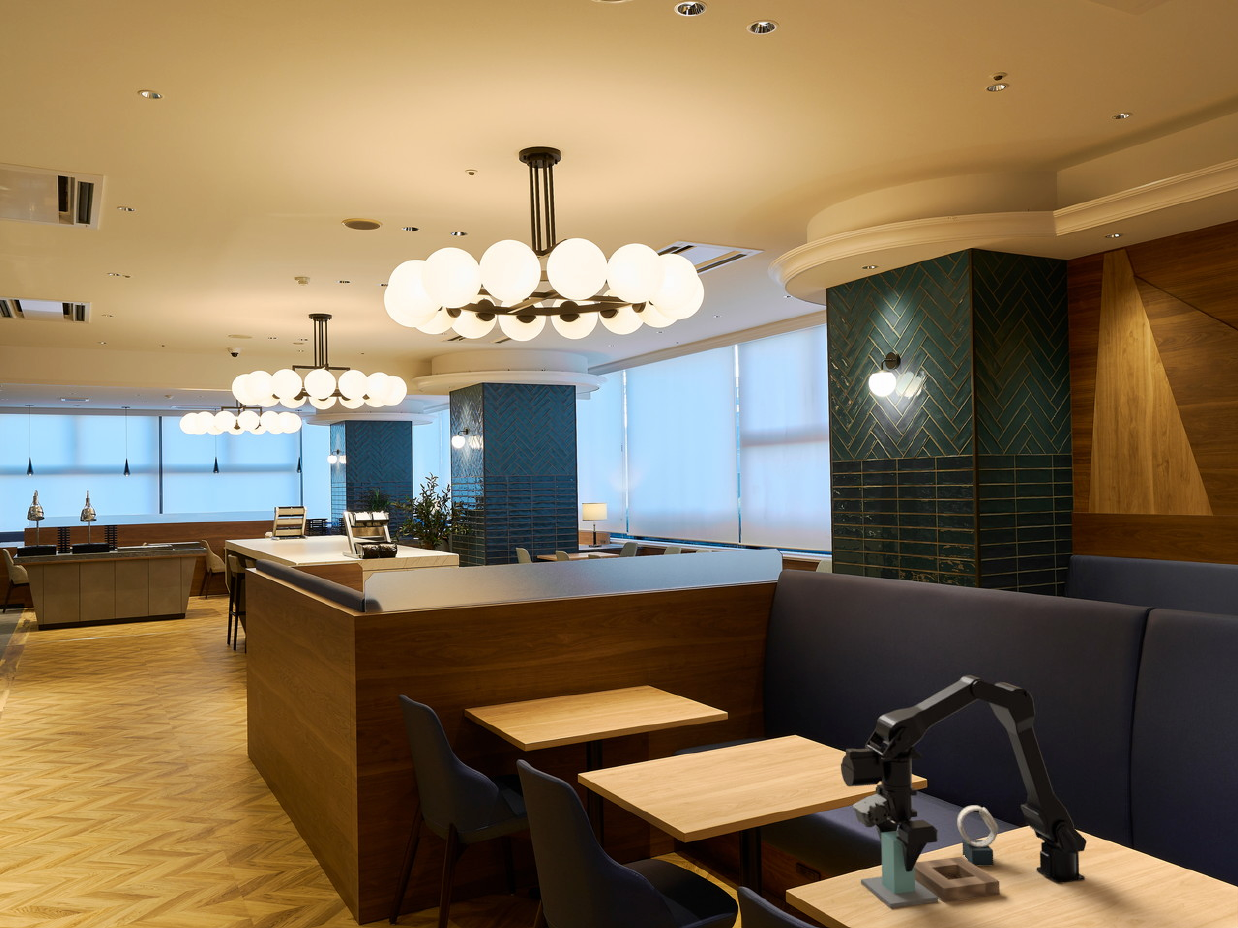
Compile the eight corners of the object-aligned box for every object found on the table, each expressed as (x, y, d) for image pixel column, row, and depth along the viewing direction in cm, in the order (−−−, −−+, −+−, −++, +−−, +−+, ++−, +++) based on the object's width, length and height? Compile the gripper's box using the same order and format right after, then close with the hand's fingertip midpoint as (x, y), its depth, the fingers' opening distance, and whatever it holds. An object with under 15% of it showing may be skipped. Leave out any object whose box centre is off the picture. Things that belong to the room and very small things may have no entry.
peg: (902, 881, 180) (901, 830, 180) (915, 891, 176) (914, 838, 176) (882, 884, 179) (881, 832, 179) (894, 893, 175) (893, 840, 175)
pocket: (961, 868, 187) (961, 856, 187) (999, 894, 176) (999, 880, 176) (909, 875, 184) (909, 863, 185) (944, 901, 173) (944, 888, 173)
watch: (1003, 865, 189) (1001, 811, 189) (963, 865, 189) (962, 811, 189) (992, 854, 194) (991, 802, 195) (954, 854, 195) (953, 802, 195)
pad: (906, 877, 184) (906, 873, 184) (938, 901, 173) (937, 896, 173) (860, 883, 181) (860, 879, 181) (890, 907, 171) (890, 903, 171)
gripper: (835, 771, 185) (837, 849, 184) (884, 802, 167) (886, 888, 166) (885, 766, 187) (887, 843, 187) (938, 796, 169) (940, 881, 169)
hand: (898, 863), depth 177 cm, fingers open, 7 cm apart
